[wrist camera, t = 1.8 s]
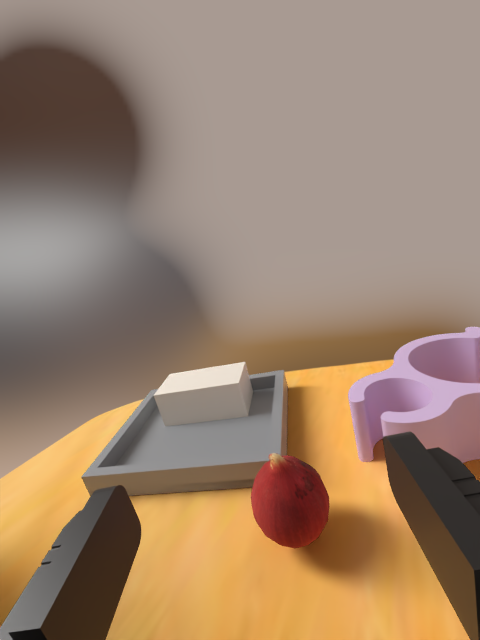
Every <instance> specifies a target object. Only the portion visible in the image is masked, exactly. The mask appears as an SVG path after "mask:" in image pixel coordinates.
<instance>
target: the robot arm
mask: <svg viewBox="0 0 480 640" xmlns="http://www.w3.org/2000/svg"><path fill="white" fill-rule="evenodd" d="M383 445H384V451H385V458H386V464H387V471H388V477H389V482H390V486H391V489H392V492H393V494H394V497H395V499H396V501H397V504H398V505H399V507H400V509H401V511H402V513H403V515H404V517H405V519H406V520H407V522H408V524H409V526H410V528H411V530H412V532H413V533H414V535H415V537H416V539H417V541H418V543H419V545H420V547H421V548H422V550H423V552H424V554H425V556H426V558H427V560H428V561H429V563H430V565H431V567H432V569H433V571H434V573H435V575H436V576H437V578H438V580H439V582H440V584H441V586H442V588H443V589H444V591H445V593H446V595H447V597H448V599H449V601H450V603H451V604H452V606H453V608H454V610H455V612H456V614H457V616H458V617H459V619H460V621H461V623H462V625H463V627H464V629H465V631H466V632H467V634H468V636H469V638H470V640H480V482H479V481H478V480H476V479H475V476H474V475H473V474H472V473H471V472H470V471H469V470H468V469H467V467H466V466H465V465H464V464H463V463H462V462H461V461H460V460H459V459H458V458H456V457H454V456H453V455H451V454H449V453H448V452H446V451H444V450H443V449H441V448H439V447H437V448H431V449H426V448H425V447H424V446H423V444H422V443H421V442H420V441H419V439H418V438H417V437H416V436H415V434H414V433H412V432H404V433H399V434H393V435H388V436H384V437H383ZM140 539H141V525H140V521H139V518H138V516H137V514H136V512H135V509H134V507H133V505H132V503H131V500H130V498H129V496H128V494H127V491H126V489H125V488H124V486H122V485H117V486H111V487H106V488H101V489H97V490H95V491H94V492H93V494H92V495H91V497H90V498H89V500H88V502H87V503H86V505H85V507H84V508H83V510H82V511H79V512H78V513H77V514H76V515H75V516H74V517H73V518H72V519H71V520H70V522H69V523H68V524H67V525H66V526H65V527H64V528H63V529H62V531H61V533H60V534H59V536H58V537H57V539H56V540H55V542H54V544H53V545H52V549H51V550H49V551H48V553H47V555H46V556H45V558H44V559H43V561H42V563H41V567H38V569H37V570H36V572H35V574H34V575H33V577H32V578H31V580H30V581H29V583H28V585H27V586H26V588H25V589H24V591H23V592H22V594H21V596H20V597H19V599H18V600H17V602H16V604H15V605H14V607H13V608H12V610H11V611H10V613H9V615H8V616H7V618H6V619H5V621H4V622H3V624H2V626H1V627H0V640H105V639H106V637H107V634H108V631H109V628H110V625H111V623H112V620H113V617H114V614H115V611H116V609H117V606H118V603H119V600H120V597H121V595H122V592H123V589H124V586H125V583H126V581H127V578H128V575H129V572H130V570H131V567H132V564H133V561H134V558H135V556H136V553H137V550H138V547H139V544H140Z"/></svg>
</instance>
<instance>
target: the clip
mask: <svg viewBox="0 0 480 640" xmlns="http://www.w3.org/2000/svg"><path fill="white" fill-rule="evenodd" d="M465 330H466V332H464V333H451V334H440V335H434V336H428V337H424V338H421V339H417V340H414V341H412V342H410V343H407V344H405V345H404V346H402V347H401V348H400V349H399V350H398V351H397V352H396V353H395V356H394V363H393V365H392V366H391V367H390V368H389V369H387V370H385V371H382V372H379V373H375V374H371V375H368V376H366V377H363V378H361V379H360V380H358V381H357V382H355V383H354V384H353V385H352V386H351V388H350V390H349V393H348V398H349V403H350V409H351V415H352V421H353V427H354V433H355V439H356V445H357V451H358V456H359V459H360V460H361V461H363V462H369V461H372V460H373V459H374V456H373V448H374V446H375V444H376V443H377V442H378V441H379V440H381V439H383V437H384V436H388V435H393V434H399V433H404V432H412V433H414V434H415V436H416V437H417V438H418V439H419V441H420V442H421V443H422V444H423V446H424V447H425V448H426V449H431V448H437V447H439V448H441V449H443V450H444V451H446V452H448V453H449V454H451V455H453V456H454V457H456V458H458V459H459V460H460V461H461V462H462V463H464V462H467V461H470V460H475V459H480V328H479V327H467V328H466V329H465Z"/></svg>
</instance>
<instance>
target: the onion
mask: <svg viewBox="0 0 480 640" xmlns="http://www.w3.org/2000/svg"><path fill="white" fill-rule="evenodd" d="M269 459H270V460H269V461H268V462H266V463H265V464H264V465H263V466H262V468H261V469H260V470H259V472H258V473H257V475H256V477H255V479H254V484H253V488H252V493H251V502H252V508H253V514H254V518H255V520H256V522H257V524H258V525H259V527H260V528H261V529H262V531H263V532H264V534H265V535H266V536H267V537H268V538H270V539H272V540H273V541H275V542H276V543H278V544H279V545H282V546H286V547H291V548H298V547H303V546H307V545H309V544H310V543H312V542H313V541H314V540H316V539H317V538H318V537H319V535H320V533H321V532H322V530H323V529H324V527H325V525H326V523H327V521H328V514H329V496H328V493H327V491H326V488H325V486H324V484H323V482H322V480H321V477H320V475H319V474H318V473H317V471H316V470H315V469H314V468H313V467H311V466H310V465H308V464H306V463H305V462H303V461H301V460H299V459H297V458H295V457H292V456H288V455H284V456H281V455H279V454H277V453H272V454H270V455H269Z"/></svg>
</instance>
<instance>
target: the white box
mask: <svg viewBox="0 0 480 640" xmlns="http://www.w3.org/2000/svg"><path fill="white" fill-rule="evenodd" d="M252 395H253V389H252V386H251V382H250V378H249V374H248V370H247V367H246V363H245V362H241V363H236V364H230V365H223V366H217V367H211V368H205V369H199V370H192V371H186V372H180V373H174V374H170V375H169V376H168V377H167V379H166V380H165V381H164V383H163V384H162V385H161V387H160V388H159V389H158V390H157V392H156V393H155V394H154V398H155V401H156V403H157V406H158V409H159V412H160V414H161V417H162V420H163V422H164V425H165V426H173V425H181V424H189V423H197V422H206V421H214V420H222V419H230V418H239V417H247V416H248V414H249V409H250V405H251V400H252Z"/></svg>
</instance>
